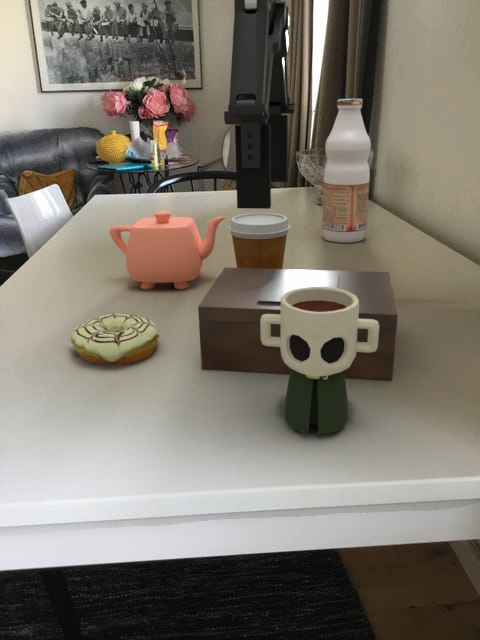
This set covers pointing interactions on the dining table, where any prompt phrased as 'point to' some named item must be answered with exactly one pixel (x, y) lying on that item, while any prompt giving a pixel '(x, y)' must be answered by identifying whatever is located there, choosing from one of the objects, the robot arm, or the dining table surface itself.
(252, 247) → the disposable coffee cup
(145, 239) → the teapot
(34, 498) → the dining table surface
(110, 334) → the decorated donut
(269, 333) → the character mug
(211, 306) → the wooden jewelry box
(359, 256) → the dining table surface
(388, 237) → the dining table surface
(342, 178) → the fruit juice
